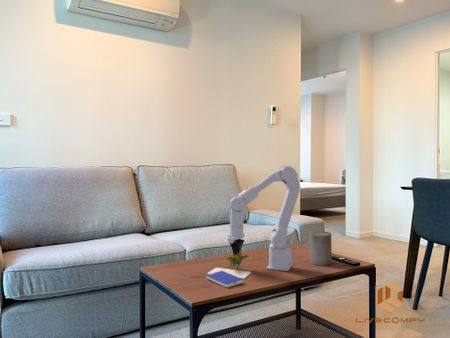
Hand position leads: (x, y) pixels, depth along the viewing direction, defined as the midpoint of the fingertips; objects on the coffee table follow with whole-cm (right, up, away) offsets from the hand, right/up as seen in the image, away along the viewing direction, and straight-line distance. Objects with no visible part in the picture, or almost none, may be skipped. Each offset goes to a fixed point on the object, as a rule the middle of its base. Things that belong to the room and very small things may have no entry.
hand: (236, 256), depth 156 cm
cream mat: (-3, -5, -8) cm, 10 cm away
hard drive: (-5, -5, -18) cm, 19 cm away
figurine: (0, -5, -1) cm, 5 cm away
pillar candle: (+38, -5, +9) cm, 40 cm away
